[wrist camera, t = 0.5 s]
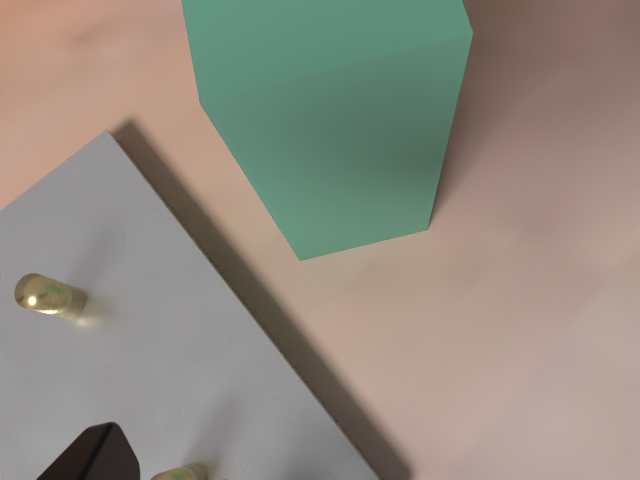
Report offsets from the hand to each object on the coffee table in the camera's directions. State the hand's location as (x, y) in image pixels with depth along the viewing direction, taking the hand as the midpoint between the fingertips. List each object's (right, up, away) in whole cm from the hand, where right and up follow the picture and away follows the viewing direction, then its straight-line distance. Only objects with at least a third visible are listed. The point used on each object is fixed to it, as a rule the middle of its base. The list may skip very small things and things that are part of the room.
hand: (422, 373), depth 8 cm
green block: (0, +4, +15) cm, 15 cm away
